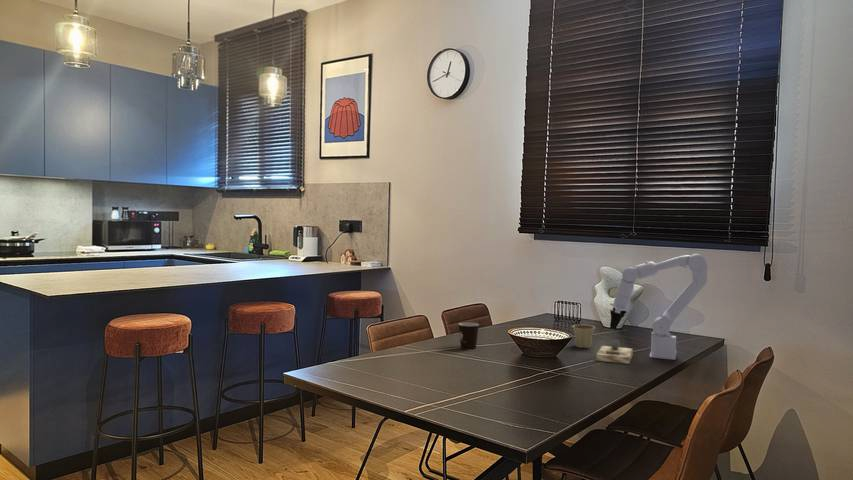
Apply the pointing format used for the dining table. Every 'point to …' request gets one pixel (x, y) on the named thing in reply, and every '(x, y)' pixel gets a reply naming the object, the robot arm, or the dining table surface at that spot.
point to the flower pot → (583, 335)
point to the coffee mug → (468, 335)
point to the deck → (614, 354)
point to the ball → (615, 344)
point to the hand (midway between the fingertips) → (613, 327)
